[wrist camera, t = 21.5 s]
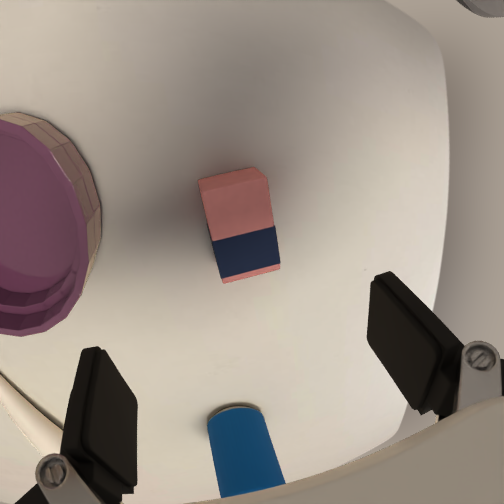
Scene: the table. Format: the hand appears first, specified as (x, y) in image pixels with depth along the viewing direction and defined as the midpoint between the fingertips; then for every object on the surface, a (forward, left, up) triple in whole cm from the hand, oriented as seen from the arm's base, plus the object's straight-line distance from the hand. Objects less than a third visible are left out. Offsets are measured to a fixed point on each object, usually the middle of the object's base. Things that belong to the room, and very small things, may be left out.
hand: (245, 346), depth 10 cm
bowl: (+5, -14, -14) cm, 20 cm away
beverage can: (+21, +12, -14) cm, 28 cm away
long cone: (+28, -10, -14) cm, 33 cm away
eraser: (0, +2, -14) cm, 14 cm away
